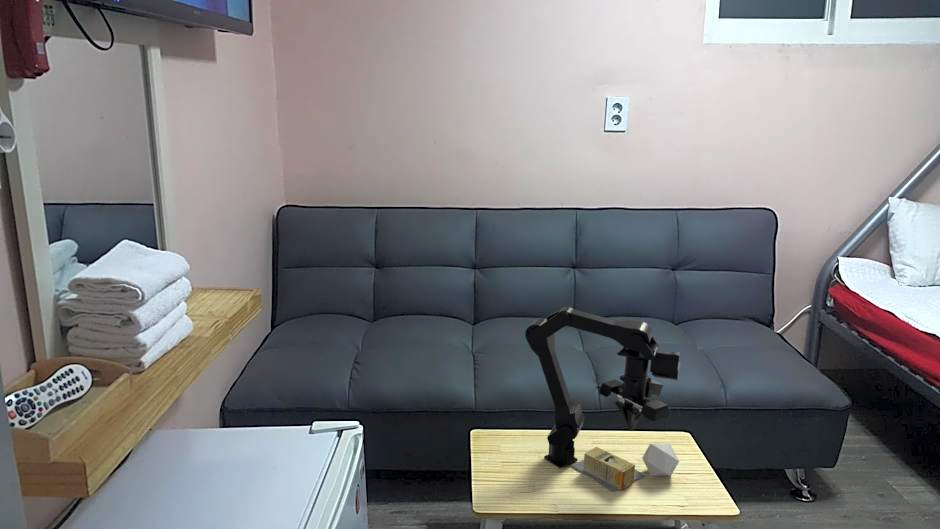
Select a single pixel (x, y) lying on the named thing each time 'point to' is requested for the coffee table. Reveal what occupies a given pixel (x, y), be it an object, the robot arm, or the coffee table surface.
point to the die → (660, 459)
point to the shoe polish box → (609, 468)
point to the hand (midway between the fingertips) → (631, 430)
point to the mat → (580, 467)
